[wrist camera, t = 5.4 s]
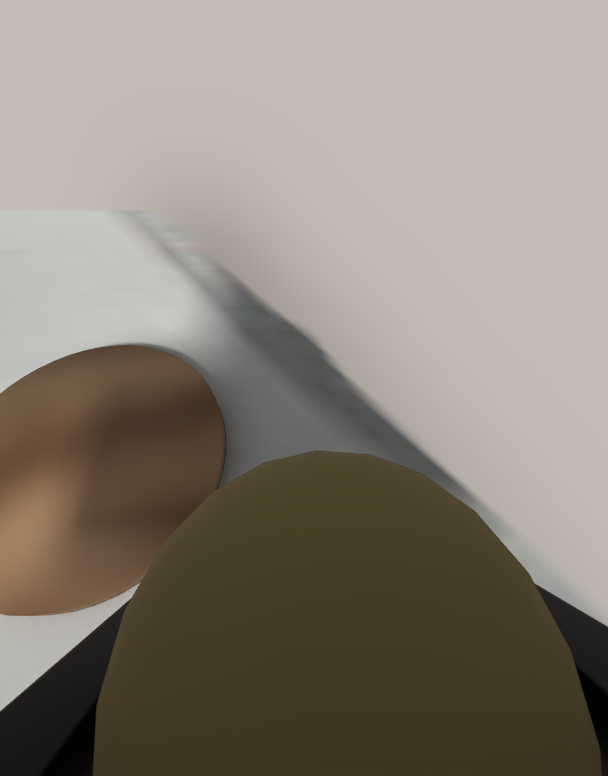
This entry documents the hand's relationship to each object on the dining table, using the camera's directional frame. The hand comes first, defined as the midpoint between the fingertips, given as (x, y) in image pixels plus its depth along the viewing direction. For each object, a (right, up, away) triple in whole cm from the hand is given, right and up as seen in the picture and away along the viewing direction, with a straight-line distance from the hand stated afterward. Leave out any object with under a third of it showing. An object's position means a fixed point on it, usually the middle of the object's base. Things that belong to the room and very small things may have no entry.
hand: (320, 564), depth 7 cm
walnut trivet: (-10, 0, +8) cm, 13 cm away
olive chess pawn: (0, -5, +5) cm, 7 cm away
